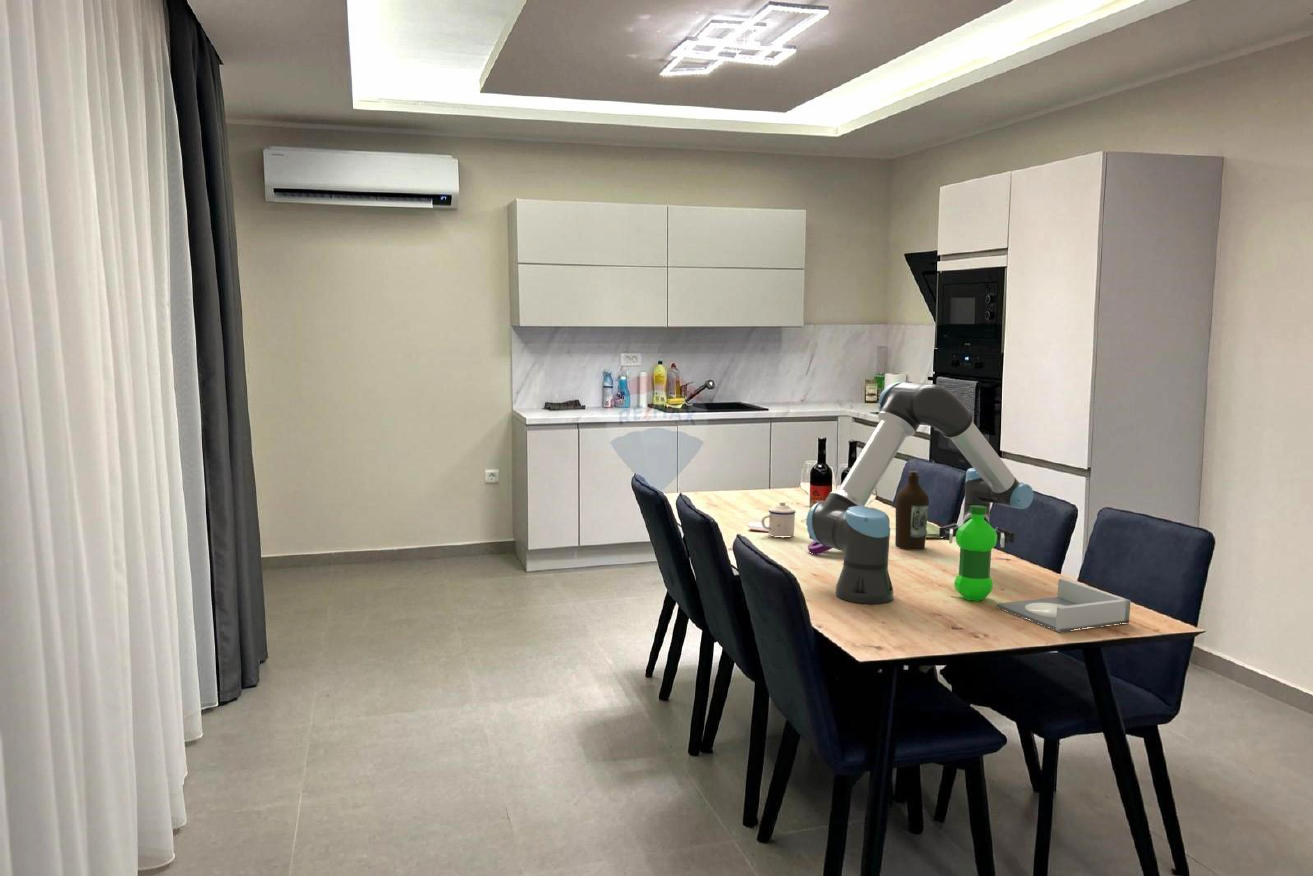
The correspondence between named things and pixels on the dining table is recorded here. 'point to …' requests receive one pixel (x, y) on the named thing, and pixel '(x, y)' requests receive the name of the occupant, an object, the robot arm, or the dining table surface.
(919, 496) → the olive oil
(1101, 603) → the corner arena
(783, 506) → the teacup with lid
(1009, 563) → the dining table surface
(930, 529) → the washcloth
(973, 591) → the plastic bottle
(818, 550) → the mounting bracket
